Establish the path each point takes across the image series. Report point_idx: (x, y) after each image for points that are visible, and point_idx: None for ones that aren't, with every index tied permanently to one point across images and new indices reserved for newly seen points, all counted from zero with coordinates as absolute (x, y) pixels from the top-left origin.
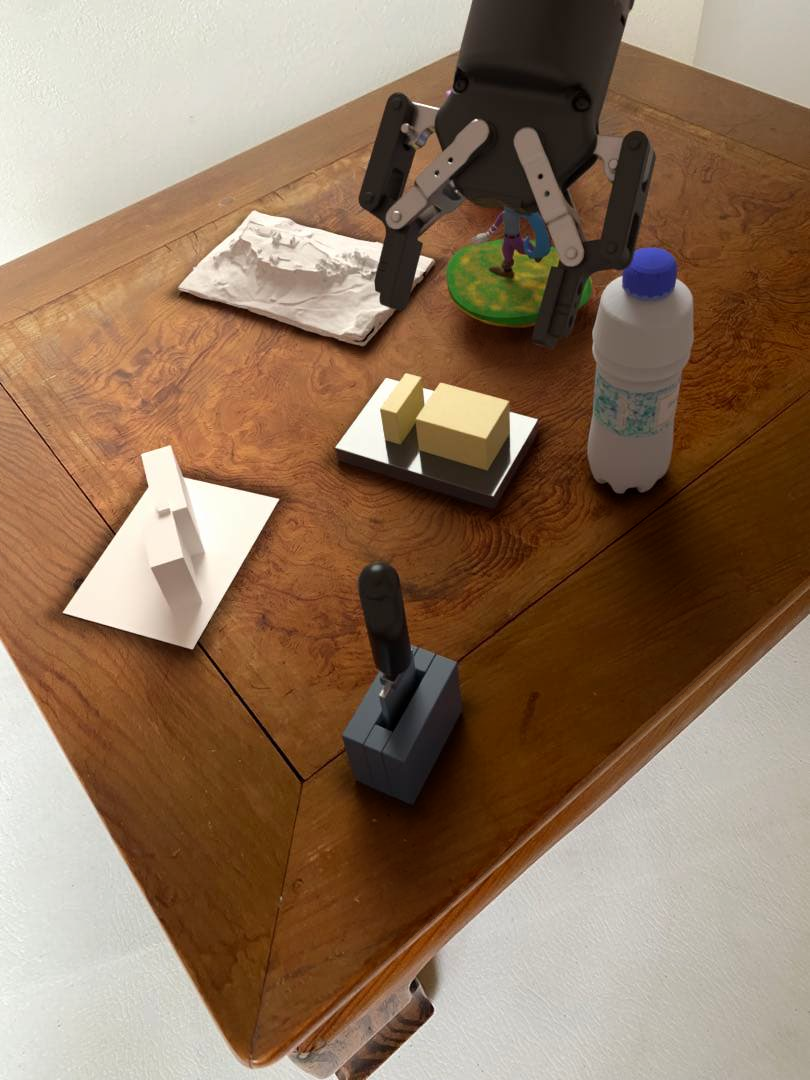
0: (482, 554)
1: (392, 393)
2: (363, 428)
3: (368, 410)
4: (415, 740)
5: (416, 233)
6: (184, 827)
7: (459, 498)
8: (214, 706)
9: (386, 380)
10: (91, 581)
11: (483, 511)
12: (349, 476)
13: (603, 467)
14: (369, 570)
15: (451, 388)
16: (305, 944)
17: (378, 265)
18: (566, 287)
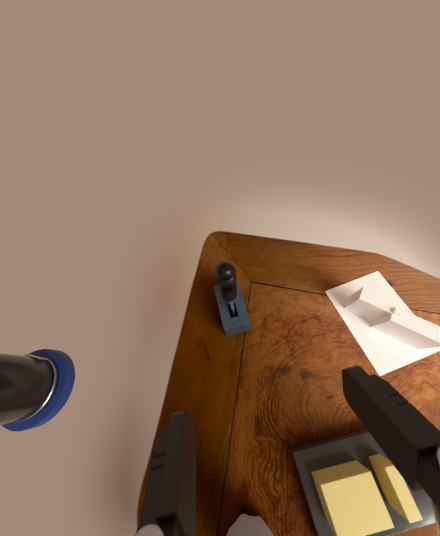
0: (273, 413)
1: (406, 487)
2: None
3: None
4: (215, 294)
5: (430, 490)
6: (267, 251)
7: (311, 443)
8: (296, 281)
9: None
10: (387, 286)
11: (294, 443)
12: None
13: (252, 522)
14: (227, 265)
15: (382, 525)
16: (215, 252)
17: (404, 399)
18: (156, 493)
